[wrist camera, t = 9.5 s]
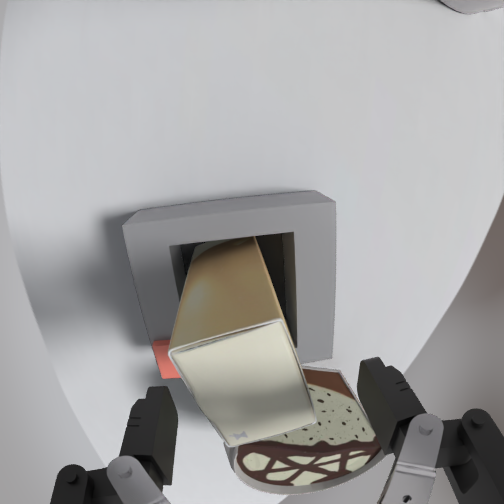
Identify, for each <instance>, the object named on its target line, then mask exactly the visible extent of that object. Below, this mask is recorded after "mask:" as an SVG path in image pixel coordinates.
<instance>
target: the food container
mask: <svg viewBox="0 0 504 504" xmlns="http://www.w3.org/2000/svg"><path fill="white" fill-rule="evenodd" d="M301 367H302V370H303V373H304V376H305V379H306V382H307V385H308V388H309V391H310V394H311V397H312V401H313V405H314V409H315V413H316V417H317V422H316V423H315V424H313V425H309V426H306V427H303V428H301V429H298V430H295V431H292V432H289V433H285V434H282V435H278V436H275V437H271V438H267V439H264V440H260V441H256V442H252V443H247V444H243V445H239V446H235V447H228V446H227V445H226V444H225V442H224V447H225V450H226V453H227V456H228V459H229V462H230V465H231V468H232V469H233V471H234V472H235V473H236V475H237V477H238V478H239V479H240V480H241V481H242V482H243V483H244V484H246V485H247V486H249V487H251V488H253V489H256V490H258V491H261V492H266V493H270V494H279V495H297V494H306V493H313V492H318V491H322V490H326V489H330V488H333V487H336V486H339V485H341V484H343V483H346V482H348V481H351V480H353V479H355V478H357V477H359V476H361V475H362V474H364V473H366V472H367V471H369V470H370V469H372V468H373V467H375V466H376V465H377V464H378V463H380V462H381V461H382V460H383V459H384V458H385V457H386V456H387V455H384V452H383V450H382V448H381V446H380V443H379V441H378V439H377V437H376V435H375V432H374V430H373V428H372V426H371V423H370V421H369V419H368V417H367V415H366V413H365V410H364V408H363V407H362V405H361V403H360V402H359V400H358V398H357V397H356V395H355V394H354V392H353V390H352V389H351V387H350V386H349V384H348V382H347V381H346V379H345V378H344V376H343V374H342V373H341V371H340V370H334V369H325V368H317V367H309V366H301Z"/></svg>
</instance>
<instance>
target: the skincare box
mask: <svg viewBox="0 0 504 504" xmlns="http://www.w3.org/2000/svg"><path fill="white" fill-rule="evenodd" d="M168 356H169V358H170V360H171V361H172V363H173V365H174V366H175V368H176V370H177V372H178V373H179V375H180V377H181V378H182V380H183V381H184V383H185V385H186V386H187V388H188V389H189V391H190V392H191V394H192V396H193V398H194V399H195V401H196V403H197V404H198V406H199V408H200V409H201V411H202V412H203V413H204V414H205V416H206V417H207V418H208V420H209V421H210V423H211V424H212V426H213V427H214V429H215V430H216V431H217V433H218V434H219V436H220V437H221V438H222V440H223V441H224V442H225V444H226V445H227V446H228V447H235V446H239V445H243V444H247V443H252V442H256V441H260V440H264V439H267V438H271V437H275V436H278V435H282V434H285V433H289V432H292V431H295V430H298V429H301V428H303V427H306V426H309V425H313V424H315V423H316V422H317V417H316V413H315V409H314V405H313V401H312V397H311V394H310V391H309V388H308V385H307V382H306V379H305V376H304V373H303V370H302V367H301V364H300V361H299V358H298V356H297V353H296V350H295V347H294V344H293V341H292V339H291V336H290V333H289V330H288V327H287V324H286V322H285V319H284V316H283V313H282V310H281V307H280V305H279V302H278V299H277V296H276V293H275V290H274V287H273V284H272V282H271V279H270V276H269V273H268V270H267V267H266V264H265V261H264V259H263V256H262V253H261V251H260V248H259V246H258V243H257V240H256V238H255V236H249V237H240V238H231V239H223V240H214V241H209V242H206V243H204V244H201V245H198V246H196V247H195V249H194V252H193V256H192V259H191V263H190V267H189V270H188V274H187V278H186V281H185V285H184V289H183V293H182V296H181V300H180V304H179V308H178V312H177V316H176V320H175V324H174V328H173V332H172V337H171V341H170V345H169V349H168Z"/></svg>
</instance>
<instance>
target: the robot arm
mask: <svg viewBox="0 0 504 504" xmlns="http://www.w3.org/2000/svg"><path fill="white" fill-rule="evenodd" d="M440 1H442V2H443V3H444V4H446V5H447V6H449V7H451V8H452V9H454V10H456V11H459V12H461V13H465V14H474V13H478V12H481V11H486V12H488V11H492V10H495V9H499V8H502V7H504V0H440ZM357 392H358V397H359V400H360V402H361V404H362V406H363V408H364V410H365V413H366V415H367V417H368V419H369V421H370V423H371V426H372V428H373V430H374V432H375V435H376V437H377V439H378V441H379V443H380V446H381V448H382V450H383V452H384V455H388V454H391V453H394V455H395V457H396V458H395V461H394V463H393V466H392V469H391V471H390V474H389V476H388V479H387V481H386V484H385V486H384V489H383V491H382V493H381V496H380V498H379V500H378V502H377V504H428V501H429V498H430V494H431V491H432V487H433V484H434V481H435V477H436V471H434V469H435V468H441V467H443V468H444V471H445V473H446V475H447V477H448V480H449V482H450V484H451V486H452V489H453V491H454V493H455V496H456V498H457V500H458V502H459V504H504V437H503V435H502V434H501V432H500V430H499V429H498V427H497V426H496V424H495V423H494V421H493V419H492V418H491V417H490V415H489V414H488V413H487V412H486V411H484V410H482V409H471V410H469V411H467V412H466V413H465V414H464V415H463V417H462V419H455V420H445V421H443V420H440V418H438V417H437V416H435V415H433V414H428V413H427V412H426V411H425V409H424V408H423V406H422V404H421V403H420V401H419V400H418V398H417V397H416V395H415V393H414V392H413V390H412V389H411V388H410V386H409V384H408V383H407V382H406V380H405V378H404V376H403V375H402V373H401V372H400V371H399V370H397V369H396V368H394V367H393V366H387V367H385V365H384V364H383V362H382V360H381V359H380V358H379V357H375V358H370V359H366V360H362V361H361V362H360V369H359V376H358V383H357ZM177 428H178V414H177V410H176V407H175V405H174V402H173V400H172V397H171V394H170V392H169V389H168V387H167V386H157V387H149V388H148V390H147V394H146V398H145V399H138V400H137V401H136V403H135V404H134V405H133V407H132V408H131V412H130V415H129V419H128V423H127V427H126V431H125V435H124V438H123V442H122V446H121V451H120V454H119V457H117V458H115V459H113V460H112V461H111V462H110V463H109V465H108V467H106V468H102V469H97V470H91V471H86V470H85V469H84V468H83V467H81V466H79V465H75V464H73V465H67V466H65V467H64V468H62V469H61V470H60V471H59V473H58V475H57V479H56V482H55V486H54V490H53V494H52V498H51V502H50V504H171V503H170V502H169V501H168V500H167V498H166V497H165V496H164V495H163V493H162V491H163V485H172V475H173V465H174V455H175V445H176V436H177Z"/></svg>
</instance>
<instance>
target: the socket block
mask: <svg viewBox="0 0 504 504" xmlns="http://www.w3.org/2000/svg"><path fill="white" fill-rule="evenodd" d="M122 229H123V234H124V239H125V244H126V248H127V253H128V258H129V262H130V267H131V271H132V275H133V279H134V283H135V288H136V292H137V295H138V299H139V303H140V307H141V311H142V314H143V318H144V322H145V325H146V329H147V332H148V335H149V339H150V342H151V346H152V349H153V352H154V355H155V358H156V362H157V365H158V368H159V371H160V374H161V377H162V378H163V379H167V378H181V377H180V375H179V373H178V372H177V370H176V368H175V366H174V365H173V363H172V361H171V360H170V358H169V356H168V349H169V345H170V341H171V337H172V332H173V328H174V324H175V320H176V316H177V312H178V308H179V304H180V300H181V296H182V293H183V289H184V285H185V281H186V274H185V268H184V263H183V257H182V251H181V245H180V244H188V243H197V242H205V241H214V240H223V239H231V238H240V237H249V236H259V235H268V234H277V233H282V238H283V256H284V275H285V296H286V317H284V319H285V322H286V324H287V327H288V330H289V333H290V336H291V339H292V341H293V344H294V347H295V350H296V353H297V356H298V358H299V361H300V364H303V363H309V362H315V361H320V360H326V359H331V358H332V352H333V336H334V316H335V290H336V202H335V201H334V200H332V199H330V198H328V197H326V196H325V195H323V194H321V193H319V192H317V191H304V192H291V193H280V194H269V195H258V196H248V197H239V198H230V199H221V200H212V201H203V202H195V203H187V204H179V205H172V206H164V207H157V208H150V209H143V210H138V211H137V212H136V213H135V214H134V215H133V216H132V217H131V218H130V219H128V220H127V221H126V222H125V223H124V224H123V225H122Z"/></svg>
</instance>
